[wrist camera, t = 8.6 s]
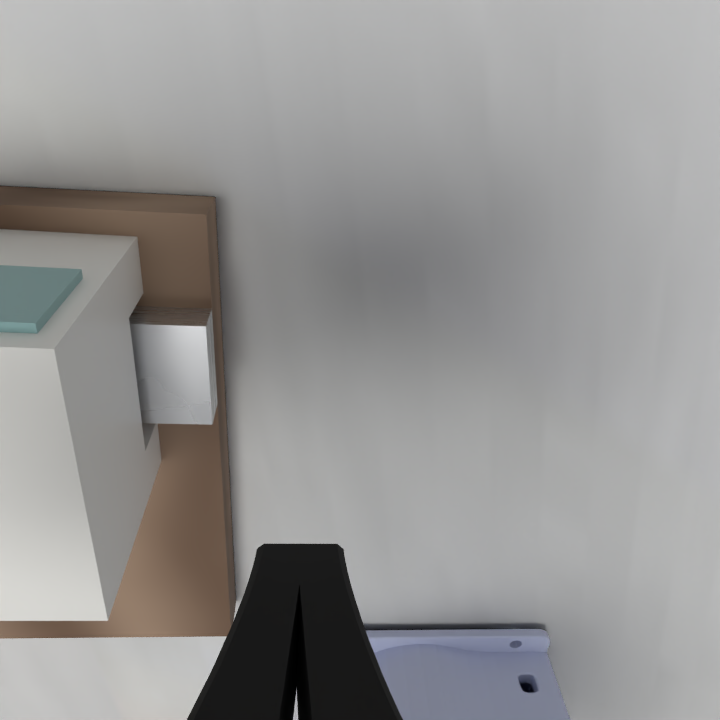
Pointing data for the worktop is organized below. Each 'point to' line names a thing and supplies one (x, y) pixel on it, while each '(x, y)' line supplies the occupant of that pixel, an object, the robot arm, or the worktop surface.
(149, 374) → the rail
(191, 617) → the board
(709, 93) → the worktop surface
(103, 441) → the block
